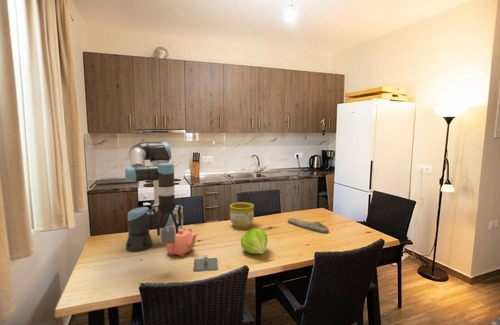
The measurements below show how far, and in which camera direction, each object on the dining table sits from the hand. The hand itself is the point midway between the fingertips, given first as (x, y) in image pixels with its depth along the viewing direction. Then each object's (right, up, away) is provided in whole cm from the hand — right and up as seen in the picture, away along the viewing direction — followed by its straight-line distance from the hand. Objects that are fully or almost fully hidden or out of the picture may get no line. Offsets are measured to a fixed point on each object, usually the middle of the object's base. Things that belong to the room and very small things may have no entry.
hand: (167, 240), depth 133 cm
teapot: (+2, -13, +23) cm, 26 cm away
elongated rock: (+83, -10, +67) cm, 107 cm away
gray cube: (0, 0, 0) cm, 0 cm away
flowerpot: (+35, -9, +67) cm, 76 cm away
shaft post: (+18, -15, +7) cm, 24 cm away
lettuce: (+44, -14, +22) cm, 51 cm away
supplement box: (-14, -10, +59) cm, 62 cm away
